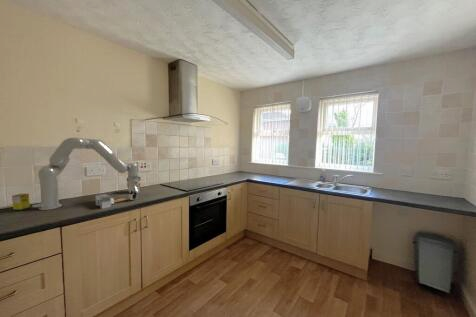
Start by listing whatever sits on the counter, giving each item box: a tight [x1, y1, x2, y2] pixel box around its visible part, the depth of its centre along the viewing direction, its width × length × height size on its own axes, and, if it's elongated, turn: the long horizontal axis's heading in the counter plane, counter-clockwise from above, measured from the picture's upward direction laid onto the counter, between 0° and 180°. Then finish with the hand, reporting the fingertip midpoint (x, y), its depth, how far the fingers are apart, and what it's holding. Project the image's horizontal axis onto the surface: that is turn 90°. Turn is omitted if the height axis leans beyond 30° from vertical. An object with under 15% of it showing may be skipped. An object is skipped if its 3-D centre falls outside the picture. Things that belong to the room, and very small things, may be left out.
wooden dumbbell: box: [111, 193, 138, 205], centre depth 166 cm, size 22×4×4 cm, turn 142°
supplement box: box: [11, 193, 30, 211], centre depth 143 cm, size 6×6×11 cm
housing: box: [95, 193, 112, 209], centre depth 154 cm, size 6×14×8 cm, turn 52°
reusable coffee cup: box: [126, 176, 142, 194], centre depth 197 cm, size 13×13×15 cm
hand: (133, 197), depth 172 cm, fingers closed on wooden dumbbell, 4 cm apart
